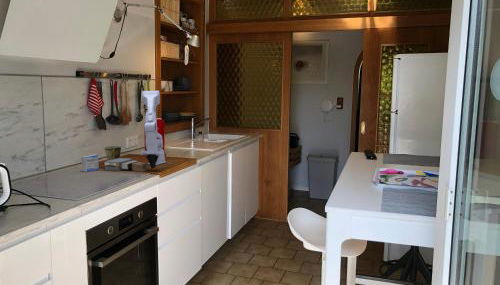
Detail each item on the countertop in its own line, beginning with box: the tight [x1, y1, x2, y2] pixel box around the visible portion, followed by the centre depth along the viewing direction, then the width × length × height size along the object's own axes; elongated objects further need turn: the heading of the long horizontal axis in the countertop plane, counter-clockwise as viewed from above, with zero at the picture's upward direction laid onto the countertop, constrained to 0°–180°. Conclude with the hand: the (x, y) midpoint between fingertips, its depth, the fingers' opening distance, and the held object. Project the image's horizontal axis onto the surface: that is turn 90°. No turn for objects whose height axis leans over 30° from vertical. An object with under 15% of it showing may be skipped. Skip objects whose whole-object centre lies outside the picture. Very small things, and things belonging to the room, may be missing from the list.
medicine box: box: [80, 154, 100, 173], centre depth 242 cm, size 8×4×9 cm, turn 143°
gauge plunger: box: [116, 160, 140, 170], centre depth 242 cm, size 12×9×4 cm
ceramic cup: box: [103, 145, 122, 161], centre depth 263 cm, size 13×10×10 cm
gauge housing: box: [104, 157, 134, 172], centre depth 246 cm, size 12×10×5 cm
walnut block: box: [131, 161, 150, 172], centre depth 239 cm, size 5×8×4 cm, turn 59°
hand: (153, 168), depth 236 cm, fingers closed
